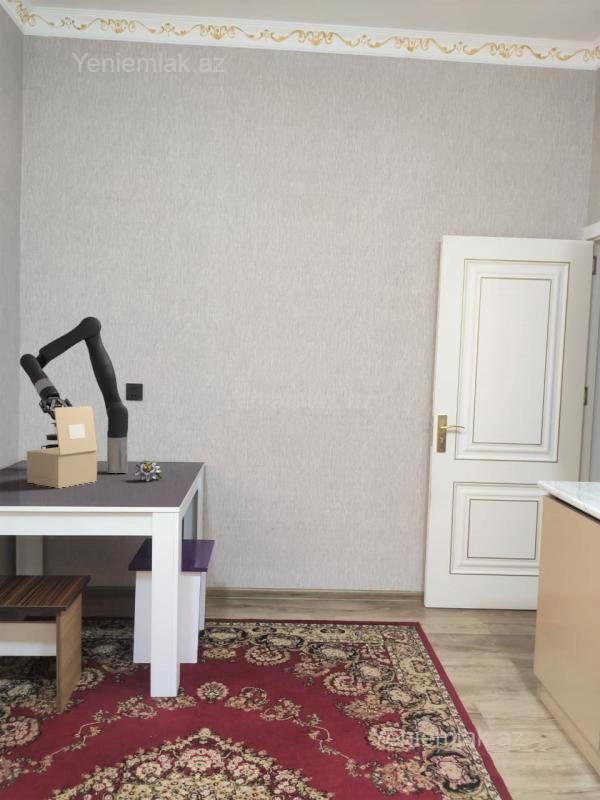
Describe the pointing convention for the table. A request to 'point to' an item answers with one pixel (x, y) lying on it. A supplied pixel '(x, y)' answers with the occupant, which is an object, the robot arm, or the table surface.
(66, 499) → the table surface
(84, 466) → the carton
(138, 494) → the table surface
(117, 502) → the table surface
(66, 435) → the carton flap
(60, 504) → the table surface
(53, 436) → the french press
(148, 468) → the passion flower
